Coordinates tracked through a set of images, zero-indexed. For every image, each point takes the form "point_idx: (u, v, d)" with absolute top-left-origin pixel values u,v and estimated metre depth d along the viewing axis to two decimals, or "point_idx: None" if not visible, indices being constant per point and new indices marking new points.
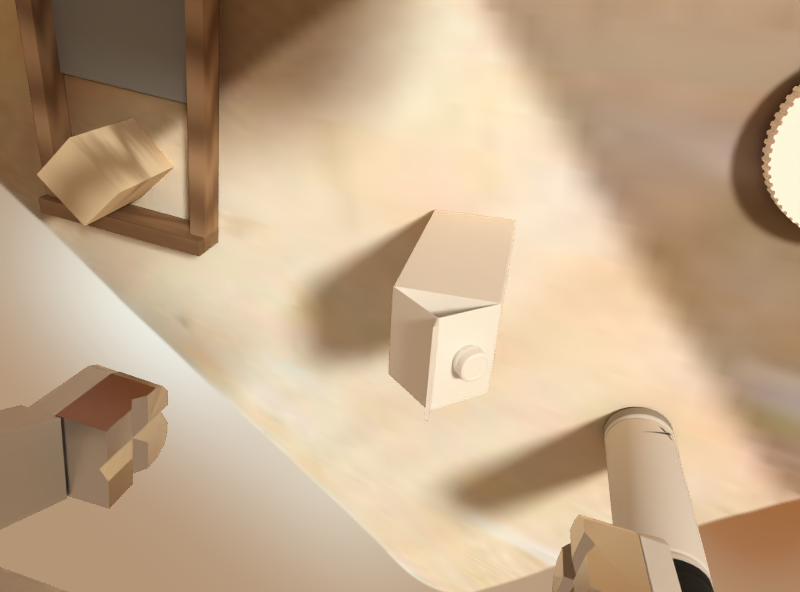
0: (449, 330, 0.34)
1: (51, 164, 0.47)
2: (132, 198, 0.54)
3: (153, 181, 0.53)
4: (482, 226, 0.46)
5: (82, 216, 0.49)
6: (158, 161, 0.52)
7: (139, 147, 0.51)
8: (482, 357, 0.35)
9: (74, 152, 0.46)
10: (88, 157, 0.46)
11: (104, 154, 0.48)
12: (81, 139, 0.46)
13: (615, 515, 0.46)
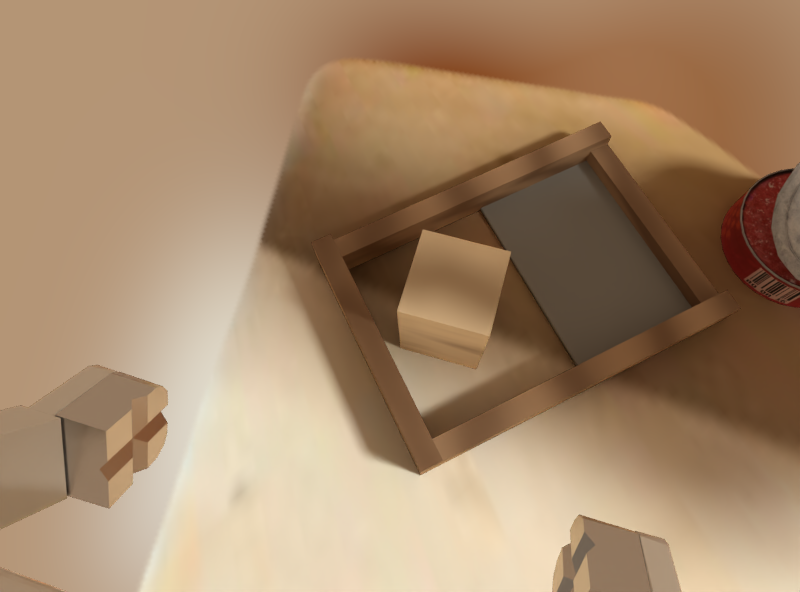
0: None
1: (454, 242, 0.34)
2: (417, 342, 0.38)
3: (453, 356, 0.38)
4: None
5: (410, 303, 0.33)
6: None
7: None
8: None
9: (497, 263, 0.34)
10: None
11: None
12: None
13: None
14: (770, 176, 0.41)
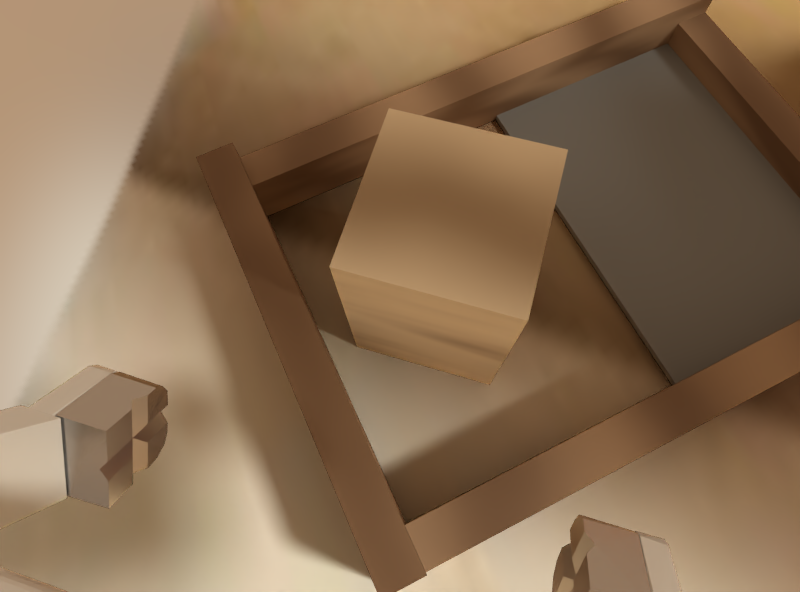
0: None
1: (451, 131, 0.17)
2: (383, 337, 0.20)
3: (449, 362, 0.21)
4: None
5: (359, 251, 0.16)
6: None
7: None
8: None
9: (540, 172, 0.16)
10: (553, 208, 0.16)
11: None
12: None
13: None
14: None
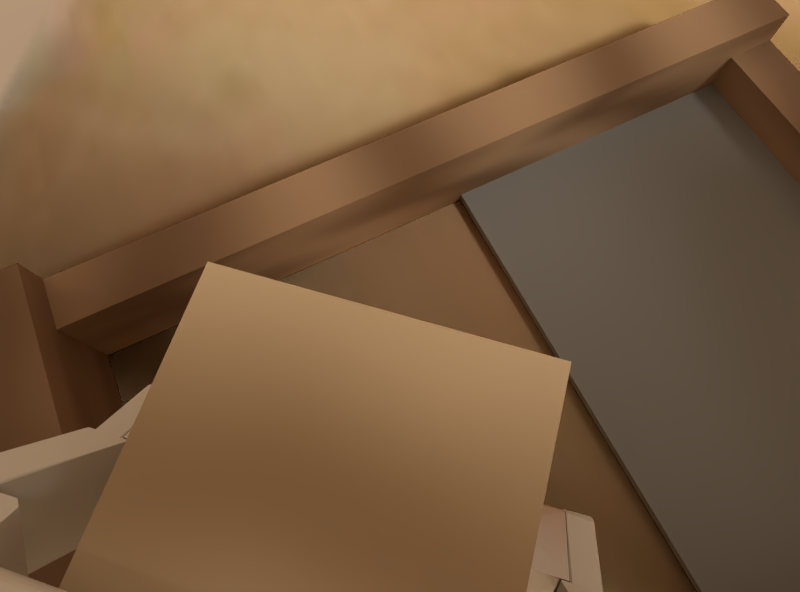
0: None
1: (330, 317, 0.08)
2: None
3: None
4: None
5: None
6: None
7: None
8: None
9: (511, 418, 0.08)
10: (540, 509, 0.07)
11: None
12: None
13: None
14: None
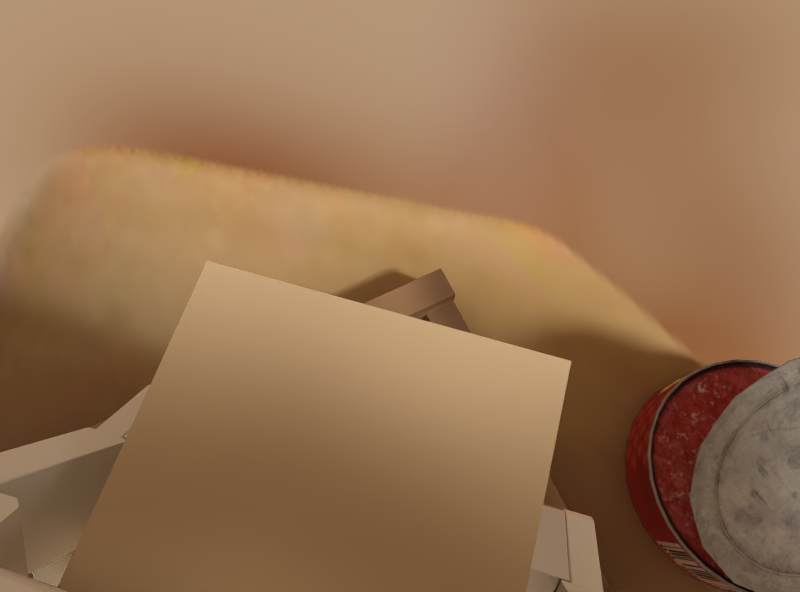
0: None
1: (330, 316, 0.08)
2: None
3: None
4: None
5: None
6: None
7: None
8: None
9: (512, 416, 0.08)
10: (541, 508, 0.07)
11: None
12: None
13: None
14: (702, 372, 0.26)
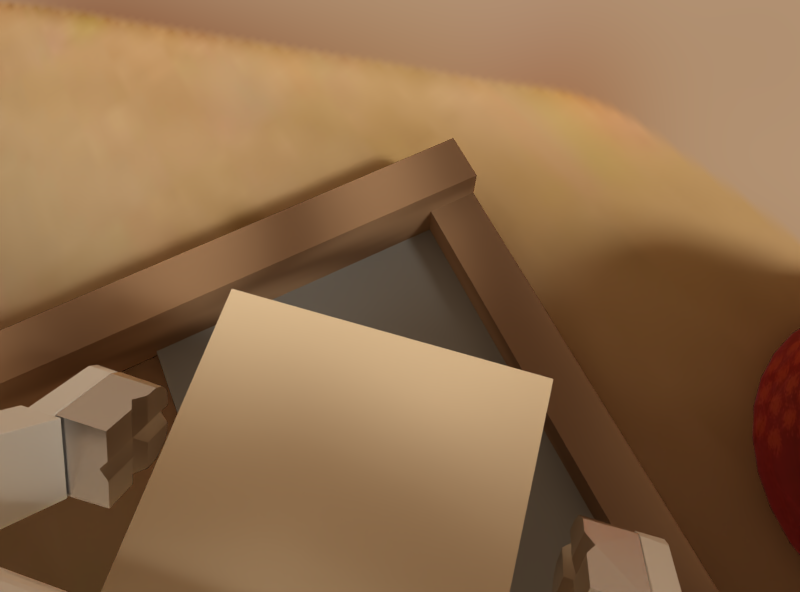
0: None
1: (341, 339, 0.09)
2: None
3: None
4: None
5: None
6: None
7: None
8: None
9: (500, 428, 0.09)
10: (525, 508, 0.08)
11: None
12: None
13: None
14: None
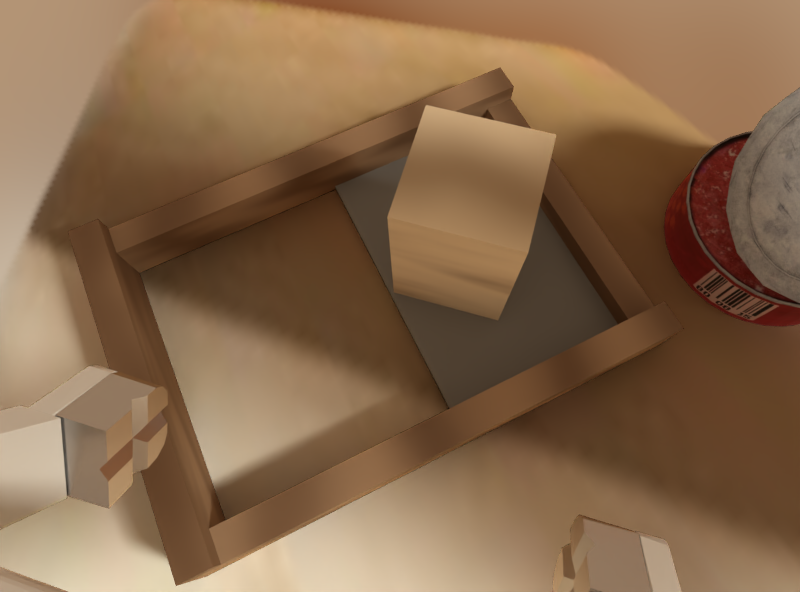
0: None
1: (472, 122, 0.23)
2: (417, 279, 0.27)
3: (467, 300, 0.27)
4: None
5: (408, 206, 0.22)
6: None
7: None
8: None
9: (536, 150, 0.23)
10: (546, 176, 0.22)
11: None
12: None
13: None
14: (732, 141, 0.29)
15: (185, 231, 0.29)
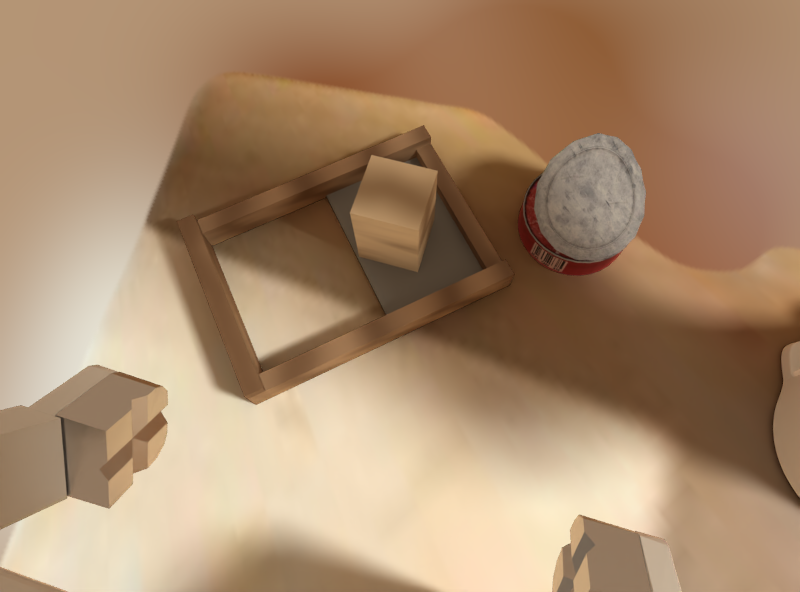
0: None
1: (395, 164, 0.45)
2: (370, 248, 0.49)
3: (399, 259, 0.49)
4: None
5: (360, 207, 0.44)
6: (421, 256, 0.50)
7: (426, 234, 0.49)
8: None
9: (426, 179, 0.45)
10: (430, 192, 0.44)
11: (429, 206, 0.46)
12: (435, 181, 0.45)
13: None
14: None
15: (240, 221, 0.51)
